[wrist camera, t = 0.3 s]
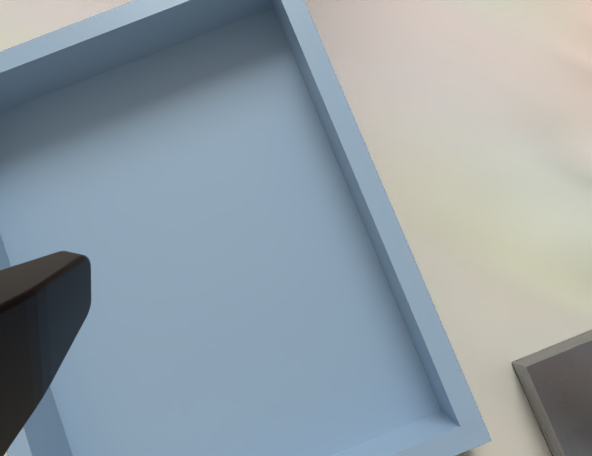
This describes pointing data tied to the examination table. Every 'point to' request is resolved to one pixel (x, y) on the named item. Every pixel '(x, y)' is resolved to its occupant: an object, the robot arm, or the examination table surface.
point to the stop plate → (561, 393)
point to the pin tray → (219, 244)
